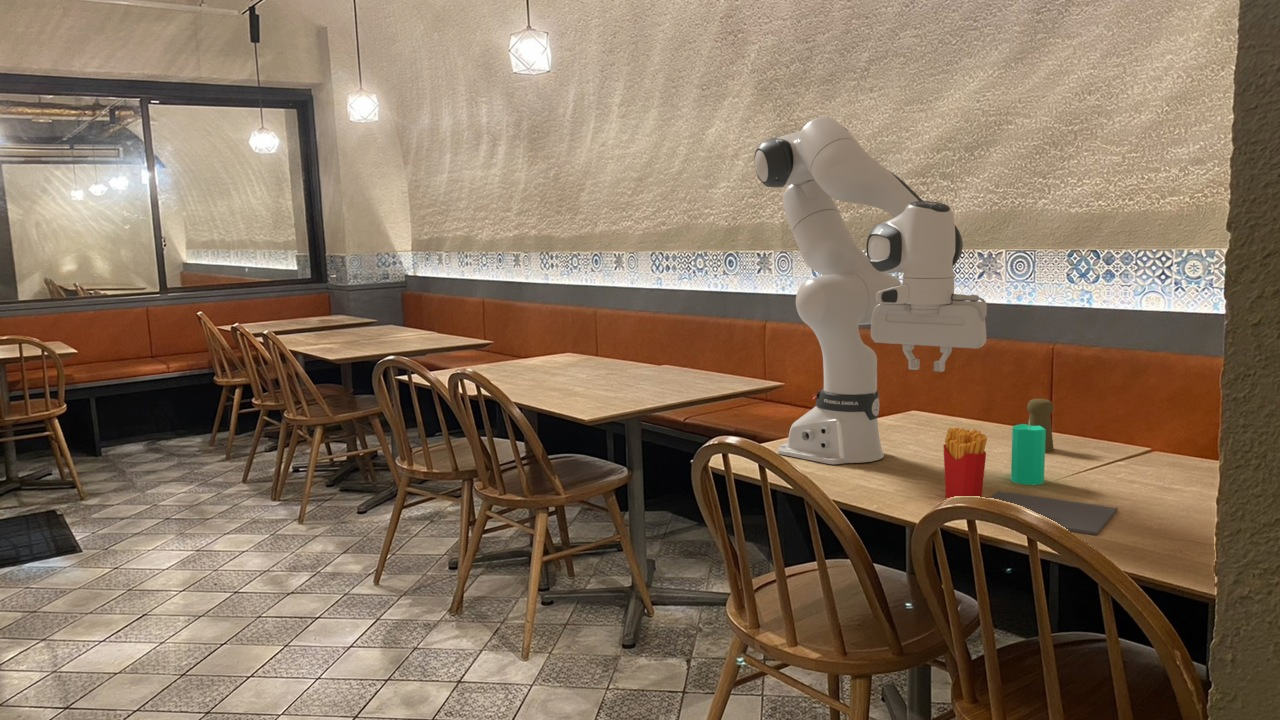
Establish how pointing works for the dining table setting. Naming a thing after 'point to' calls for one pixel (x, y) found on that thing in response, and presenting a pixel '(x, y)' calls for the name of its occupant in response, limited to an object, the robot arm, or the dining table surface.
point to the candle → (1028, 454)
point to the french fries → (964, 462)
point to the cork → (1042, 418)
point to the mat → (1064, 511)
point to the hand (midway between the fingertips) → (926, 370)
